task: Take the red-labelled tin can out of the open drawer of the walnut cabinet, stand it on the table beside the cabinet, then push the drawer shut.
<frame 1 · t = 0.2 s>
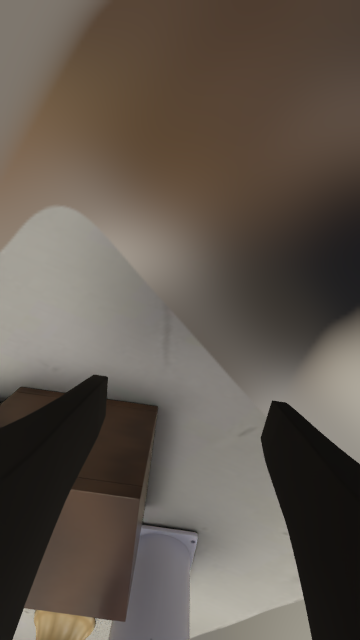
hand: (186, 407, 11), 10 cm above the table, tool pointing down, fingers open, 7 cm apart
hand bell: (66, 616, 35), on the table
cabinet: (88, 451, 25), on the table
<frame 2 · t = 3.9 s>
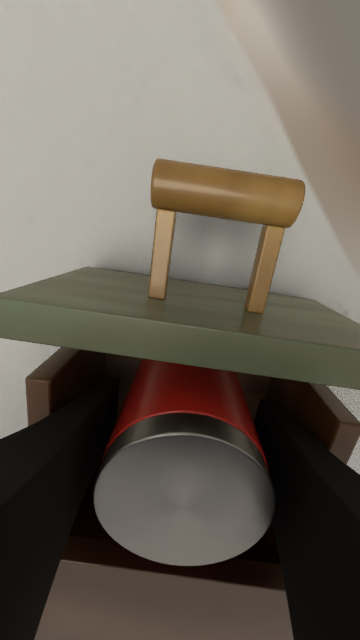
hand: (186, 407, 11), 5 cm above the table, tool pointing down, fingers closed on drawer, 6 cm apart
drawer: (190, 377, 11), point 4 cm above the table, slide at 7.5 cm, touching can, gripper
can: (186, 376, 14), point 2 cm above the table, touching drawer
cabinet: (166, 481, 19), on the table
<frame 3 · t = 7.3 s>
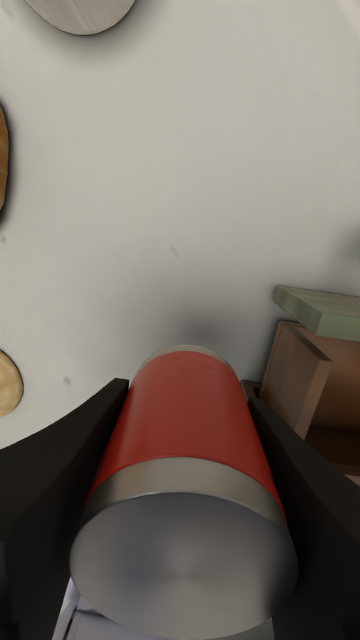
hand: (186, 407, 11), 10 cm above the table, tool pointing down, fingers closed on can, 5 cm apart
can: (185, 392, 12), point 9 cm above the table, touching gripper
cabinet: (295, 446, 24), on the table
when the fingers open (1 cm above the table, at t = 10.1 s): can stays where it is, on the table.
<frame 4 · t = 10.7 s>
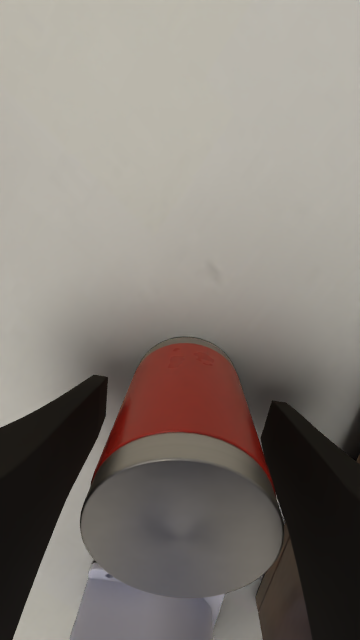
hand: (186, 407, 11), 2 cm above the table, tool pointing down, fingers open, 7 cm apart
can: (186, 383, 13), on the table
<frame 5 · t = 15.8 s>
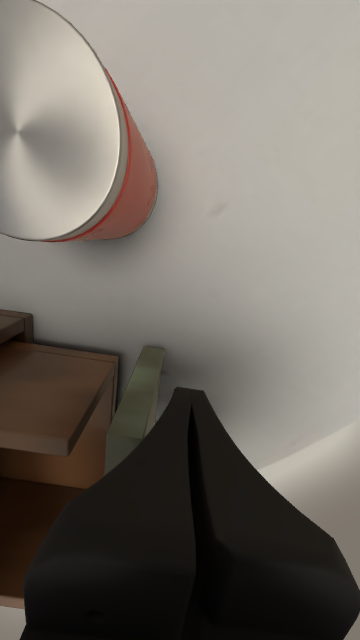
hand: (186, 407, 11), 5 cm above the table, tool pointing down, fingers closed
drawer: (75, 469, 13), point 4 cm above the table, slide at 6.9 cm, touching gripper
can: (107, 184, 13), on the table
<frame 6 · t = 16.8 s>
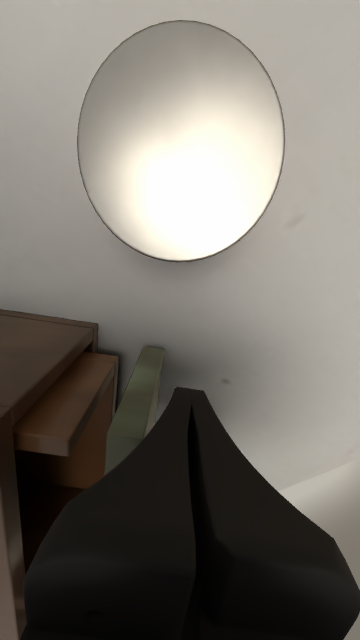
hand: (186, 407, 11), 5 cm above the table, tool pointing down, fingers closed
drawer: (76, 469, 13), point 4 cm above the table, slide at 3.0 cm, touching gripper
can: (185, 196, 13), on the table
cabinet: (3, 399, 17), on the table
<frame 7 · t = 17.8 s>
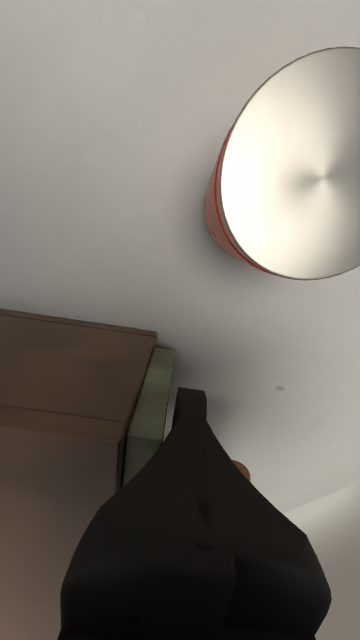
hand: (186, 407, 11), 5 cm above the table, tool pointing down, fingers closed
drawer: (87, 470, 13), point 4 cm above the table, slide at 0.0 cm, touching cabinet, gripper
can: (254, 206, 13), on the table
cabinet: (54, 406, 17), on the table
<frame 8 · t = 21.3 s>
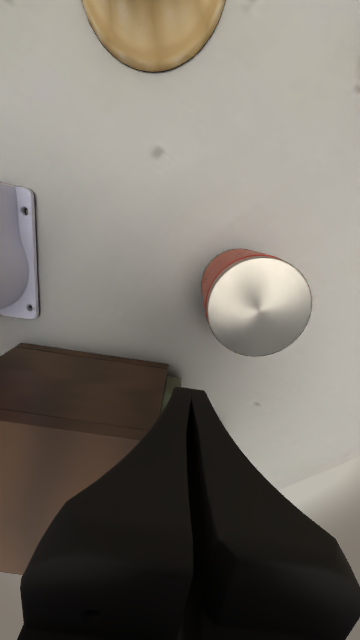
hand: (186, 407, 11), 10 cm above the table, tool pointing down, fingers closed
drawer: (122, 461, 20), point 4 cm above the table, slide at 0.0 cm, touching cabinet
can: (235, 284, 19), on the table
cabinet: (92, 416, 24), on the table
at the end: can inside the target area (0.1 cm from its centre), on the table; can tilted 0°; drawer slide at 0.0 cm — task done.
